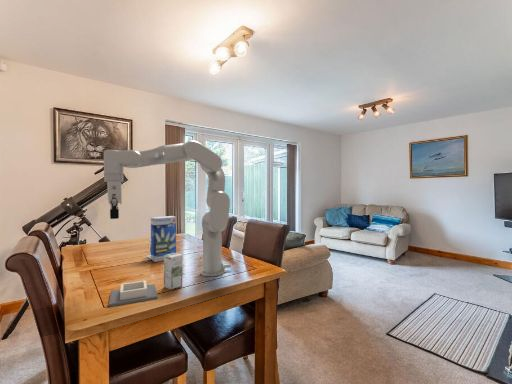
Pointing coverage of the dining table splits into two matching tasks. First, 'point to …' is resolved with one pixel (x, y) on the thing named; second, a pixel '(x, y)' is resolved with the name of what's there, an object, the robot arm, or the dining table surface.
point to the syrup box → (173, 270)
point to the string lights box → (162, 237)
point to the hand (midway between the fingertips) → (114, 217)
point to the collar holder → (132, 293)
